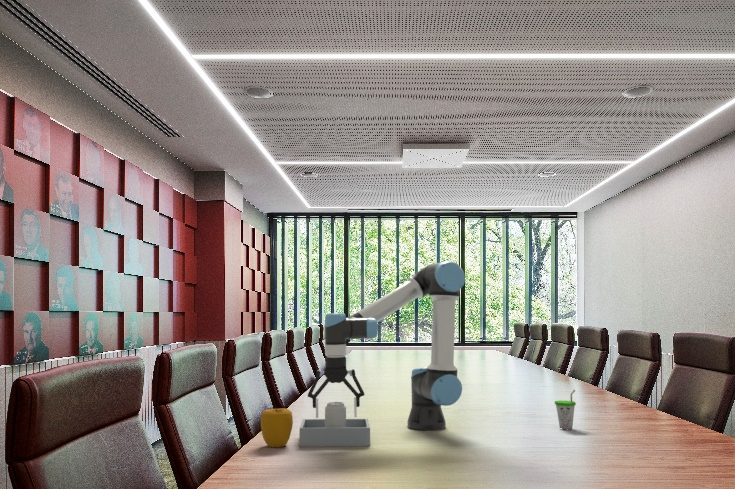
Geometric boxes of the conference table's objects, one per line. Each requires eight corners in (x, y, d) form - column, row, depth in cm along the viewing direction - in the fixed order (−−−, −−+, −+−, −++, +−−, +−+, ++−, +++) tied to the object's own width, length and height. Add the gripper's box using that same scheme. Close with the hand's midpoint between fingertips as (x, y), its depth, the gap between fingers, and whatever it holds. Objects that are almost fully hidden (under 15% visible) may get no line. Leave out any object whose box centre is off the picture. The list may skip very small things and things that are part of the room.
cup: (554, 429, 238) (553, 390, 240) (556, 426, 246) (555, 388, 247) (575, 431, 236) (574, 391, 237) (577, 427, 243) (575, 389, 244)
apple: (280, 441, 217) (280, 403, 219) (299, 445, 210) (299, 407, 211) (253, 445, 210) (254, 407, 211) (272, 450, 202) (273, 410, 203)
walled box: (367, 435, 227) (367, 418, 228) (370, 445, 210) (370, 427, 210) (302, 435, 226) (302, 419, 227) (299, 446, 209) (299, 428, 209)
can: (343, 439, 214) (343, 404, 215) (322, 438, 215) (322, 403, 217) (348, 435, 221) (348, 401, 222) (328, 434, 223) (328, 400, 224)
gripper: (369, 354, 226) (370, 414, 223) (301, 356, 224) (301, 415, 222) (370, 356, 218) (371, 417, 216) (300, 357, 217) (300, 419, 215)
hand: (336, 416), depth 219 cm, fingers open, 13 cm apart
